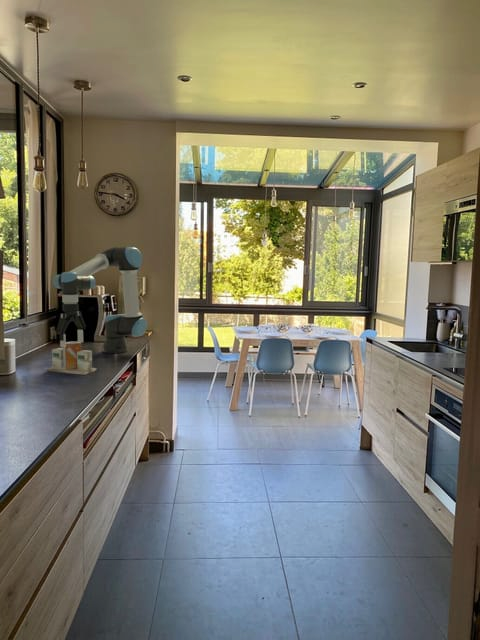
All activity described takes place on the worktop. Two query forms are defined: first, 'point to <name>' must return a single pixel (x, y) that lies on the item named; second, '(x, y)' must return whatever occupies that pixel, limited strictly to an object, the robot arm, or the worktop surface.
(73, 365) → the small box
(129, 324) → the robot arm
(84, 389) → the worktop surface
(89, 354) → the cream u-shaped bracket
